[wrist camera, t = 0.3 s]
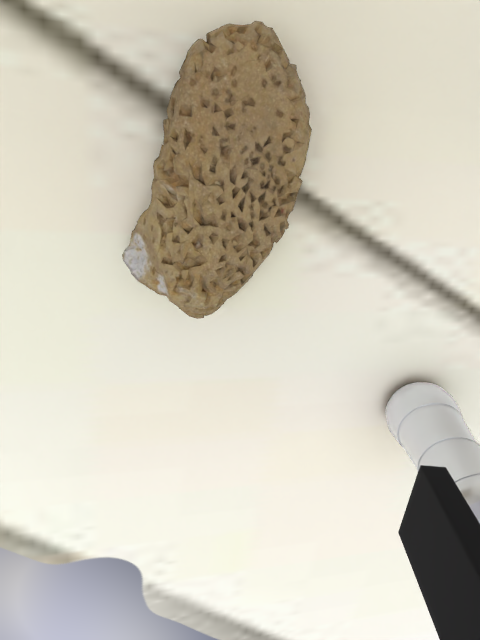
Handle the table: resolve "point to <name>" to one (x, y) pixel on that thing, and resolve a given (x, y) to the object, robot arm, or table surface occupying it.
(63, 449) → the table surface
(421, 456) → the plastic bottle
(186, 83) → the sponge
